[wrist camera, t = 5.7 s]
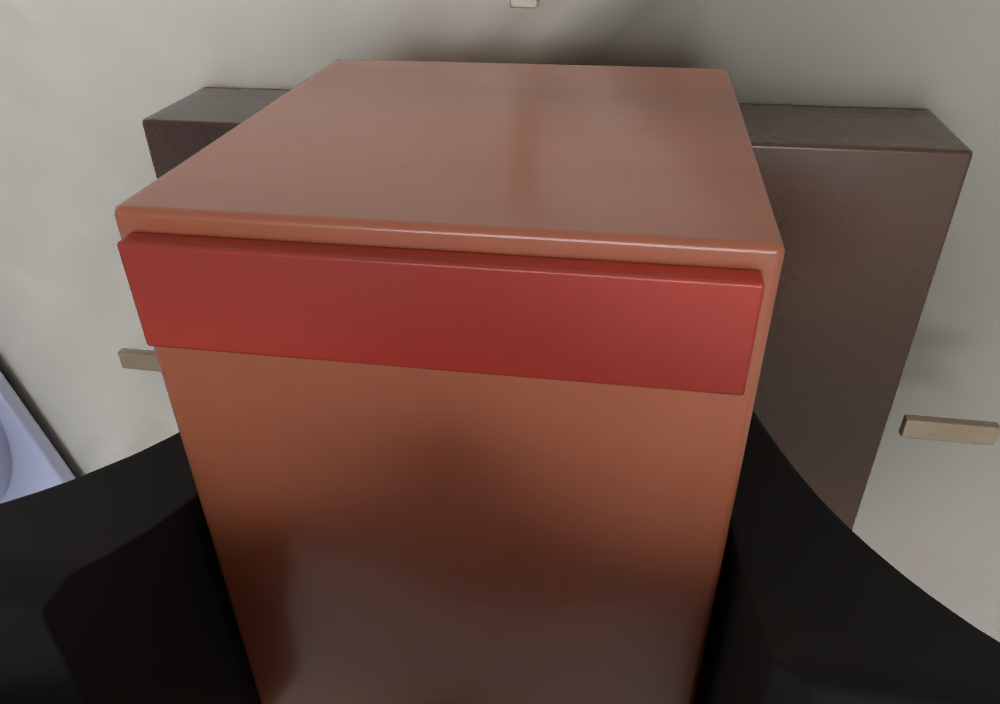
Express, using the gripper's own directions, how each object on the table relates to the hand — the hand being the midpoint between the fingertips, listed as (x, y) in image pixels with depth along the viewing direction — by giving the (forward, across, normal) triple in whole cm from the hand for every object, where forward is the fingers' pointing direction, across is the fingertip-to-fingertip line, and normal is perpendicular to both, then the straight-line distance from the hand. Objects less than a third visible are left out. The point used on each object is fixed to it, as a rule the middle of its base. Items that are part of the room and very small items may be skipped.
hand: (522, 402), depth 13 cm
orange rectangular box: (0, 0, 0) cm, 0 cm away
